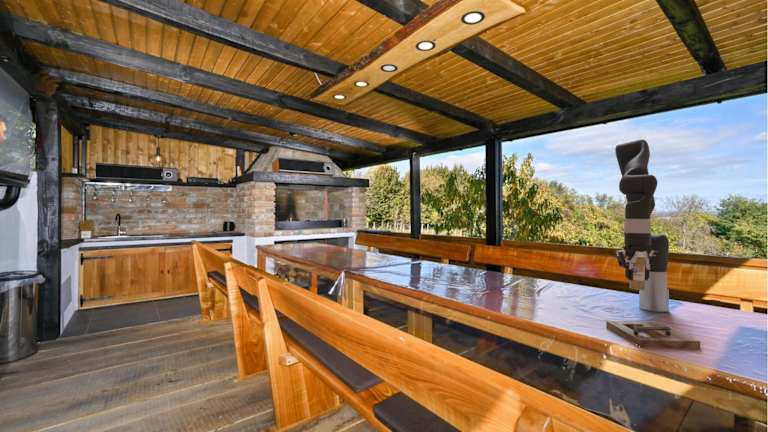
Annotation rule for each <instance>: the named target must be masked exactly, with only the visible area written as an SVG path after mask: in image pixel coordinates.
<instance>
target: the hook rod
mask: <svg viewBox="0 0 768 432" xmlns="http://www.w3.org/2000/svg"><path fill="white" fill-rule="evenodd" d="M671 328H672V327H671V326H669V325H668V326H667V325H666V326H665V327H657V326H633V329H634V334H635V335H638V333H639V331H638V330H665V335H668V336H670V330H671Z"/></svg>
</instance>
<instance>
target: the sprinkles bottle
mask: <svg viewBox="0 0 768 432" xmlns="http://www.w3.org/2000/svg"><path fill="white" fill-rule="evenodd" d="M636 257H637V259H636V262H635V264H634V265H633V268H632V270H633V280H629V285H628V288H629V289H631V290H637V291H639V290H644V289H645V258H644V257H645V253H644V252H638V255H637V256H636ZM630 260H631V259H630Z"/></svg>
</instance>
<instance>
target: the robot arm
mask: <svg viewBox="0 0 768 432" xmlns="http://www.w3.org/2000/svg"><path fill="white" fill-rule="evenodd" d="M614 149H615V157H616V161H617V164H618V167H619V171H620V174H621V179H620V180H619V184H618V189H619V192H620V193H621V194H622V195H625V197H626V204H625V207H624V208H625V209H624V211H625V212H624V217H625V218H624V224H623V226H624V227H623V231H624V232H623V233H624V234H623V236H624V237H623V240H624V241H623V243H624V247H623V249H621V250H615V251H614V252H615V256H616V259H617V263H618V266H619V267H621V268H624V270H625V273H624V274H625V279H627V280H628V281H630V280H633V270H632V268H633V265H634V264H635V262H636V259H637V257H636V256H637V255H638V252H644V253H645V257H644V258H645V289H644V290H638V291H639V295H638V296H639V298H638V299H639V300H638V301H639V302H638V303H639V304H638V307H639V309H642V310H643V311H644V310H645V311H647V312H654V313H664V312H665V313H666V312H670V289H669V288H667V269H668V263H669V250H670V249H669V247H670V242H669V239H668V237H667V236H666V235H665V234H661V233H660V234H657V233H652V223H651V222H652V221H651V215H652V213H653V211H654V209H655V207H656V201H655V197H654V195H655V192H656V190H657V187H658V179H657V177H656V176H654V175H653V174H650V173H649V169H648V168H649V167H648V165H649V161H650V157H651V156H650V155H651V154H650V152H651V151H650V148H649V144H648V141H646V140H645V139H640V138H639V139H635V140H631V141H628V142H627V141H626V142H623V143H619V144H617V145H616V146H615V148H614ZM625 256H626V257H625ZM630 259H631V260H630Z"/></svg>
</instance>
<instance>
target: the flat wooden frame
mask: <svg viewBox="0 0 768 432" xmlns="http://www.w3.org/2000/svg"><path fill="white" fill-rule="evenodd" d="M633 326H657V327H665V326H667V325H665V324H663V323H661V322H659V321H637V320H636V321H635V320H634V321H633V320H632V321H631V320H628V321H627V320H626V321H625V320H606V328H607V329H608V330H610V331H611V332H614V333H615V334H617V335H619V337H622V338H623V339H625V340H627V339H628V340H627V341H629V342H630V341H631V342H630V343H632V342H633V343H632V344H634V343H635V344H637V345H638V346H637V345H636V346H637V347H639V346H640V347H639V348H644V347H651V349H688V350H689V349H690V350H691V349H692V350H694V349H695V350H701V340H699V339H696V338H694V337H692V336H689V335H688V334H686V333H683V332H681V331H679V330H676V329H674V328H673V327H670V328H671V330H670V336H668V335H665V330H638V335H635V334H634V329H633ZM639 331H640V332H643V333H644V334H647V335H649V336H645V335H643V334H641V333H639ZM635 344H634V345H635Z"/></svg>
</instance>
